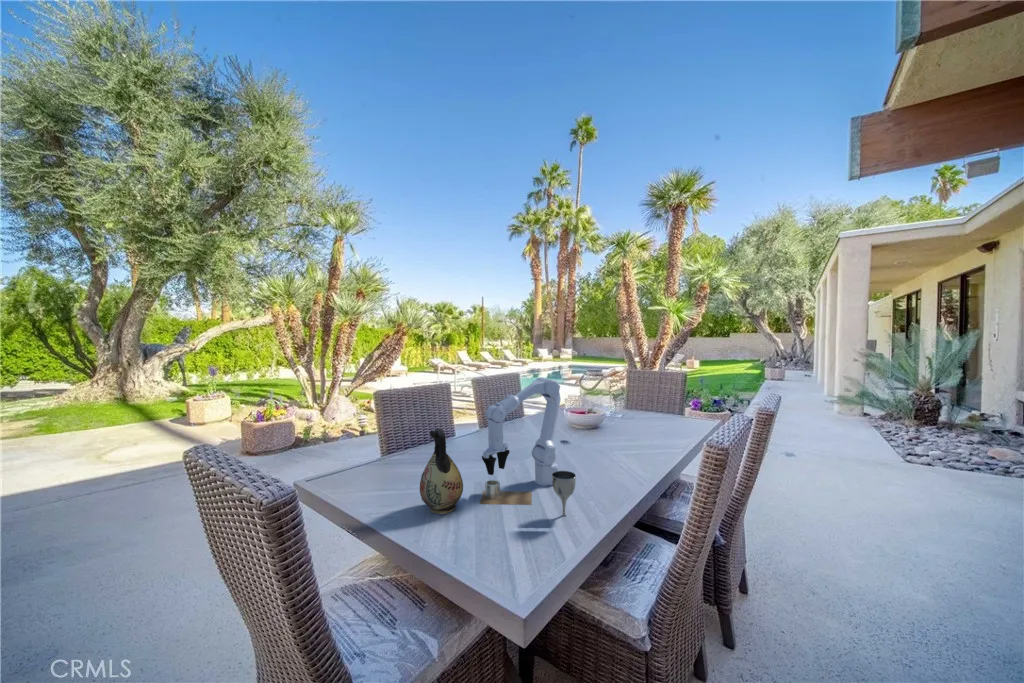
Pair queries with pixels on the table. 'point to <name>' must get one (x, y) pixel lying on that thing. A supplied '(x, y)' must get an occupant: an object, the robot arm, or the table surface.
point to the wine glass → (563, 486)
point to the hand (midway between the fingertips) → (496, 471)
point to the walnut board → (509, 498)
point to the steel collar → (492, 489)
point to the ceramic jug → (441, 478)
